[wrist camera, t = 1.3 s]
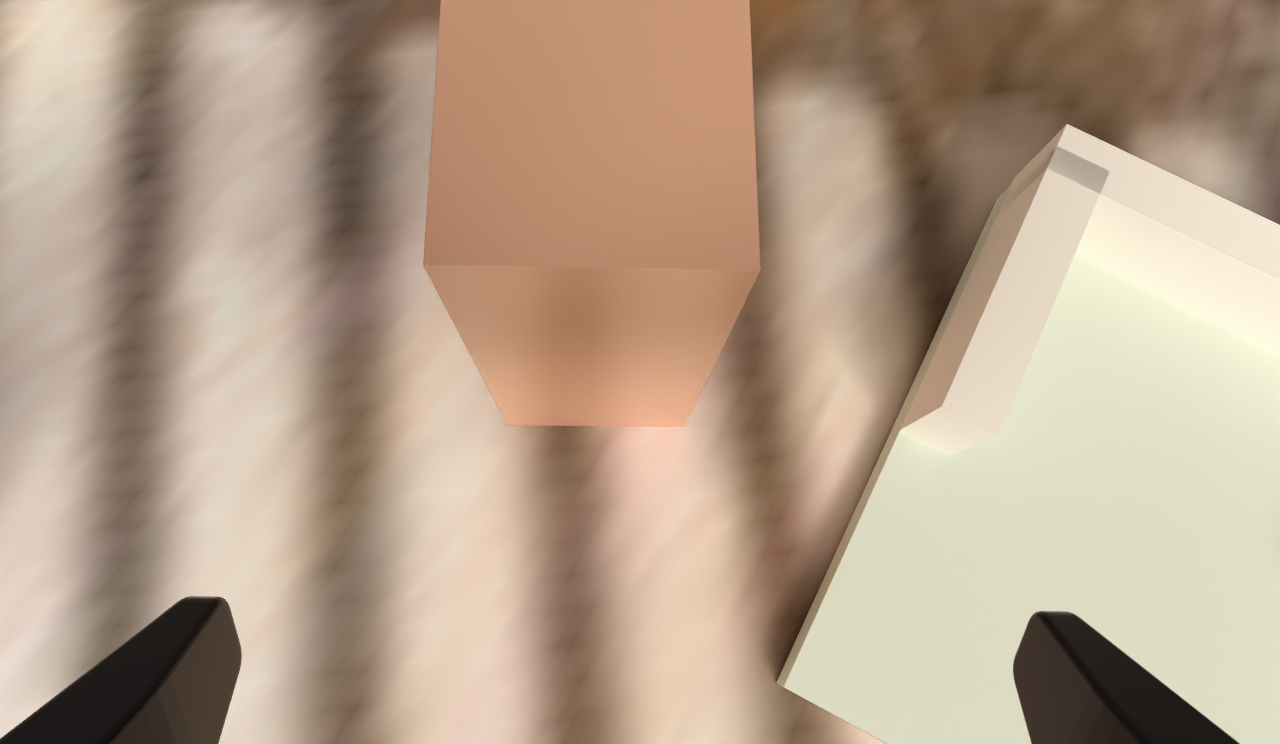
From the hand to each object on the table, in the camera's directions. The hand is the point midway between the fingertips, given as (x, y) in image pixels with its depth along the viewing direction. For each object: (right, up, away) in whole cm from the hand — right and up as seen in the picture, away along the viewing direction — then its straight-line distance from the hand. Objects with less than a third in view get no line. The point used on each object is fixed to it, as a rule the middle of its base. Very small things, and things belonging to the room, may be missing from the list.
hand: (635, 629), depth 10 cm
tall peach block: (-1, +4, +15) cm, 16 cm away
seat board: (+14, -2, +15) cm, 20 cm away
